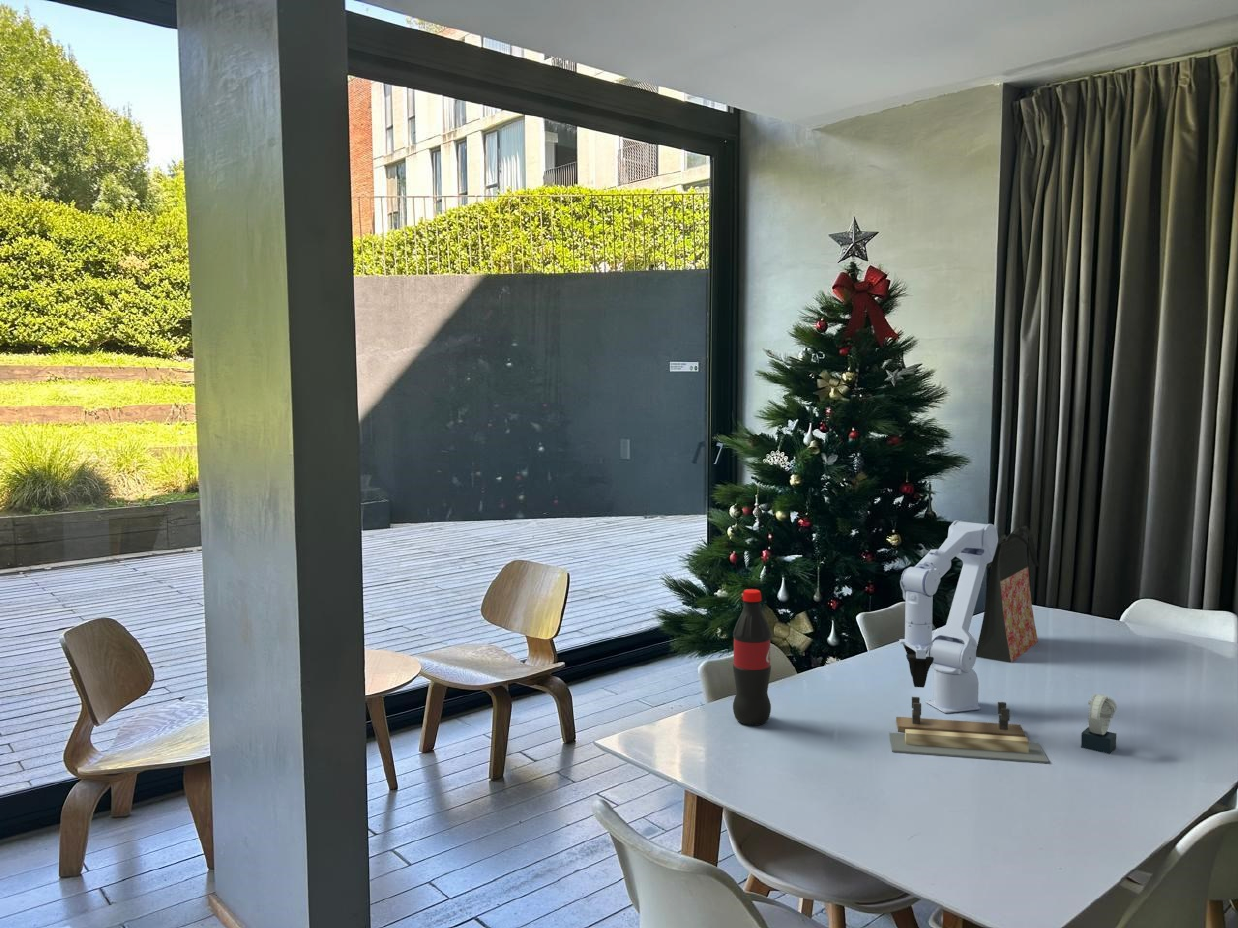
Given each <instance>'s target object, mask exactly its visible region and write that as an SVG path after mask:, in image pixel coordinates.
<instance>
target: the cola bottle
mask: <svg viewBox="0 0 1238 928" xmlns="http://www.w3.org/2000/svg"><path fill="white" fill-rule="evenodd" d="M742 602H744V603H743V609H742V611H741V613H740V615H739V617H738V619H737V621H736V623H735V627H734V629H733V632H732V637H733V665H732V670H733V676H734V683H735V688H736V689H735V690H736V691H735V693H736V694H735V697H734V699H733V702H732V703H733V704H732V711H733V715H734V718H735V719H736V721H738V722H739V723H741V724H743V725H745V726H746V725H747V726H759V725H763V724H766V723H767V721H768V720H769V719H770V716H771V711H772V704H771V701H770V698H769V695H768V691H769V683H770V678H771V677H770V676H771V670H772V665H771V638H772V632H771V629H770V626H769V623H768V621H767V618H766V617H765V615H764V613H763V611H762V608H761V602H762V593H761V591H760V590H759V589H756V588H755V589H751V588H750V589H744V590H743V594H742Z"/></svg>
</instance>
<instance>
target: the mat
mask: <svg viewBox="0 0 1238 928" xmlns="http://www.w3.org/2000/svg"><path fill="white" fill-rule="evenodd" d="M888 734H889V740H890V747H891V753H899V754H900V753H901V754H902V753H903V754H915V755H927V756H928V755H929V756H939V757H941V756H943V757H952V758H953V757H954V758H955V757H956V758H967V759H969V758H970V759H983V760H993V761H994V760H995V761H996V760H997V761H1009V762H1023V763H1024V762H1025V763H1036V764H1037V763H1039V764H1049V763H1050V762H1049V759H1048V757H1047V756H1046V754H1045V752H1044V751H1043V749H1042V747H1041V745H1040V743H1039V742H1034V741H1033V742H1032V741H1031V742H1030V741H1029V753H1021V752H1007V751H993V750H979V749H965V748H951V747H937V746H923V745H909V744H906V743H905V733H904V732H900V733H899V732H889V733H888Z"/></svg>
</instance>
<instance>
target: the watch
mask: <svg viewBox="0 0 1238 928" xmlns="http://www.w3.org/2000/svg"><path fill="white" fill-rule="evenodd" d="M1087 703H1088V705H1089V712H1088V718H1087V720H1088V727H1086V728H1085V729H1084V730H1083V731H1082V732H1081V736H1080V737H1081V738H1080V741H1081V743H1080V748H1082V749H1086V750H1091V751H1094V752H1099V753H1103V754H1107V755H1111V754H1112V753H1113V752H1114V751H1115V750H1116V749H1117V732H1116V733H1115V732H1112V731H1108V730H1109V728H1110V725H1111V724H1110V723H1111V719H1113V717H1114V715H1115V713H1116V711H1117V709H1118V705H1117V703H1116V702H1115V700H1114V699H1112V698H1111V697H1110V696H1108V695H1105V694H1093V695H1092V697H1091V699H1090V700H1088V701H1087Z"/></svg>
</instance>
